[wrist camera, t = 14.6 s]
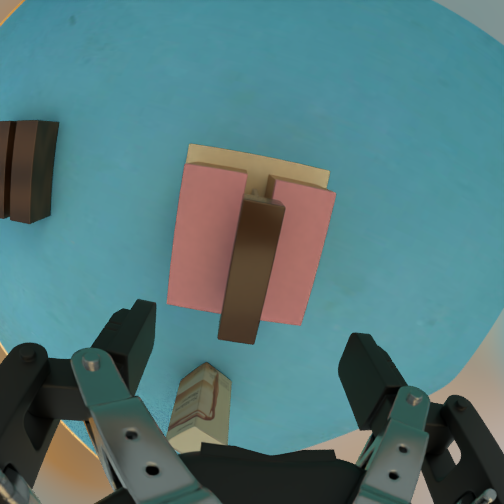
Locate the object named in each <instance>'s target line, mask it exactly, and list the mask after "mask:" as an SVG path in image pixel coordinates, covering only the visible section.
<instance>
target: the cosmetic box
mask: <svg viewBox="0 0 504 504" xmlns="http://www.w3.org/2000/svg"><path fill="white" fill-rule="evenodd" d="M231 383H232V382H231V381H230V380H229V379H228V378H227V377H225V376H224V375H223V374H222V373H220V372H219V371H218V370H216V369H215V368H214V367H212V366H211V365H210V364H209V363H207V362H206V363H204V364H202V365H201V366H199V367H198V368H197V369H195V370H194V371H192V372H191V373H190V374H188V375H187V376H186V377H185V378H183V379H182V380H181V381H180V385H179V388H178V392H177V396H176V400H175V404H174V408H173V411H172V415H171V419H170V423H169V427H168V432H167V435H166V439H167V440H168V442H169V443H170V444H171V446H172V447H173V449H174V450H176V451H178V452H179V453H181V454H182V453H185V452H192V451H200V447H201V442H206V443H213V444H221V445H228V430H229V414H230V398H231Z"/></svg>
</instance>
